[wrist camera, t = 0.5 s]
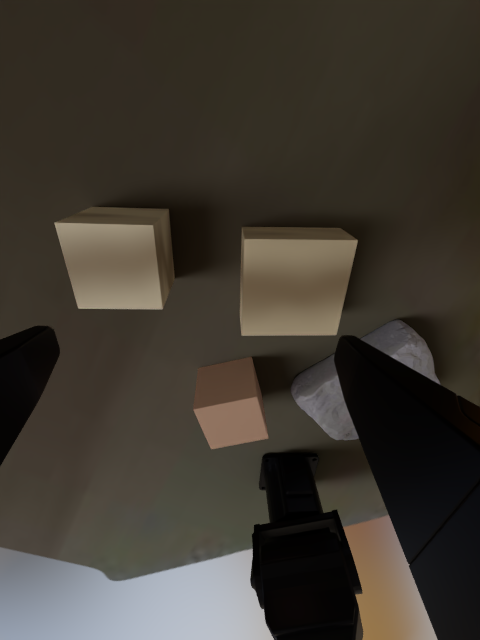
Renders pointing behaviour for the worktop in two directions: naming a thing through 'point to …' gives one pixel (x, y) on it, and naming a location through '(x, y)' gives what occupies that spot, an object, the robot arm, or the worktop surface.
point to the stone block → (324, 387)
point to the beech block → (118, 257)
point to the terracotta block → (230, 403)
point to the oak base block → (294, 280)
